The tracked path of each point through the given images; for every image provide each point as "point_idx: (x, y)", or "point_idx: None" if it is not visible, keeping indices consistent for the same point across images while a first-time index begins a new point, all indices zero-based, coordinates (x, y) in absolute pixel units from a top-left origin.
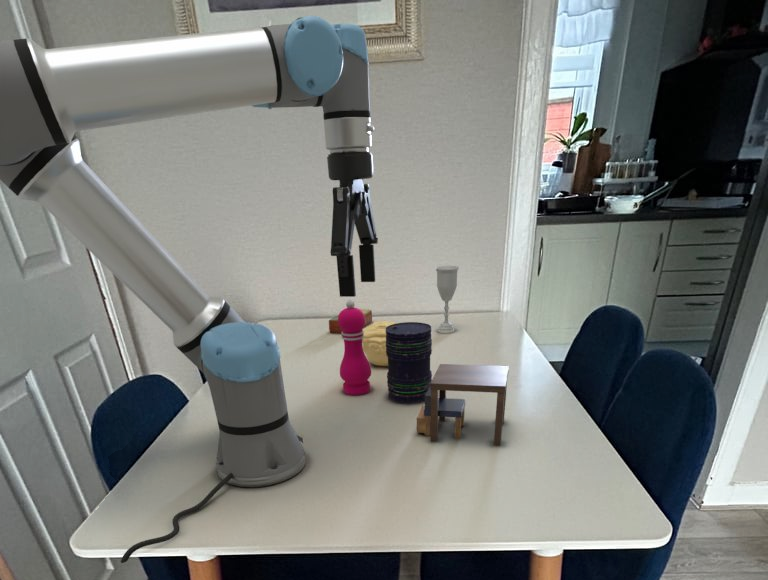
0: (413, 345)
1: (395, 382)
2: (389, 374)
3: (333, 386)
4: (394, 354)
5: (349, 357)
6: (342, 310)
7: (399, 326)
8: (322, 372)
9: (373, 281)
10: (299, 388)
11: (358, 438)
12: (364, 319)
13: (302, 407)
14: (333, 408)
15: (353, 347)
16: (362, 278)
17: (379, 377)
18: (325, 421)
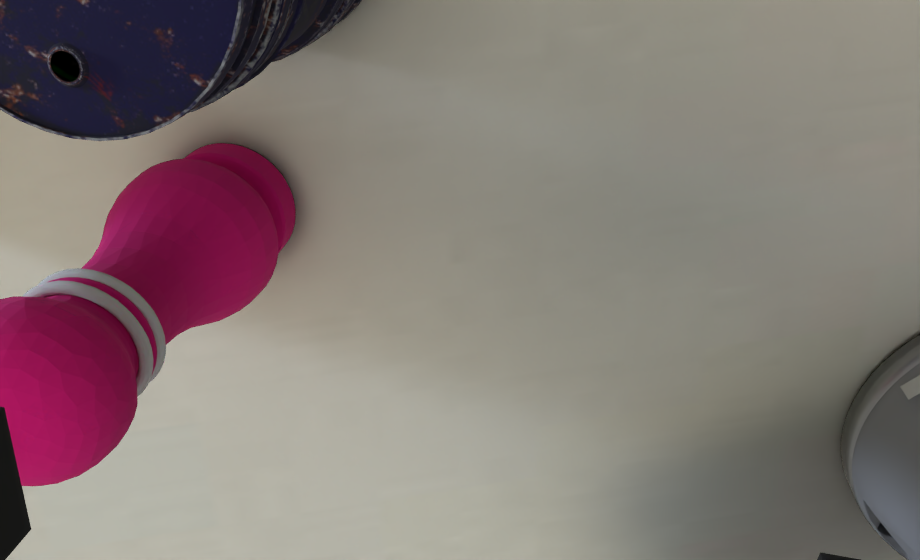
0: None
1: (340, 2)
2: (282, 49)
3: None
4: (286, 31)
5: (207, 299)
6: None
7: (11, 34)
8: None
9: (3, 419)
10: (247, 431)
11: (804, 121)
12: (19, 313)
13: (449, 391)
14: (455, 274)
15: (172, 302)
16: (4, 543)
17: None
18: (599, 285)
